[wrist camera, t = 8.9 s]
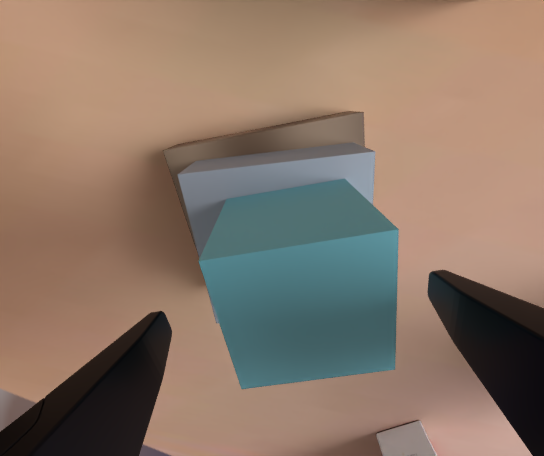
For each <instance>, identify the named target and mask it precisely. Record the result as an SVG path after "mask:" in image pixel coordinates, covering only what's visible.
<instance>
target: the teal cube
mask: <svg viewBox="0 0 544 456" xmlns="http://www.w3.org/2000/svg"><path fill="white" fill-rule="evenodd" d="M199 264H200V267H201V270H202V273H203V276H204V279H205V282H206V285H207V288H208V291H209V294H210V297H211V300H212V303H213V306H214V309H215V312H216V315H217V318H218V321H219V324H220V327H221V329H222V332H223V335H224V338H225V341H226V344H227V347H228V350H229V353H230V356H231V359H232V362H233V365H234V368H235V371H236V374H237V377H238V380H239V383H240V386H241V389H247V388H254V387H262V386H270V385H278V384H286V383H294V382H301V381H309V380H317V379H325V378H333V377H340V376H348V375H356V374H364V373H372V372H379V371H387V370H395V352H396V311H397V270H398V228H397V227H395V226H394V225H393V224H392V223H391V222H390V221H389V220H388V219H387V218H386V217H385V216H384V215H383V214H382V213H381V212H380V211H379V210H377V209H376V208H375V207H374V206H373V205H372V204H371V203H370V202H369V201H368V200H367V199H366V198H365V197H364V196H363V195H362V194H361V193H360V192H358V191H357V190H356V189H355V188H354V187H353V186H352V185H351V184H350V183H349V182H348V181H347V180H346V179H339V180H334V181H328V182H322V183H316V184H310V185H305V186H299V187H293V188H287V189H281V190H276V191H270V192H264V193H258V194H253V195H247V196H241V197H235V198H229V199H226V201H225V204H224V206H223V208H222V210H221V212H220V215H219V217H218V219H217V221H216V224H215V226H214V228H213V230H212V232H211V235H210V237H209V239H208V241H207V243H206V246H205V248H204V250H203V252H202V254H201V257H200V259H199Z"/></svg>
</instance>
